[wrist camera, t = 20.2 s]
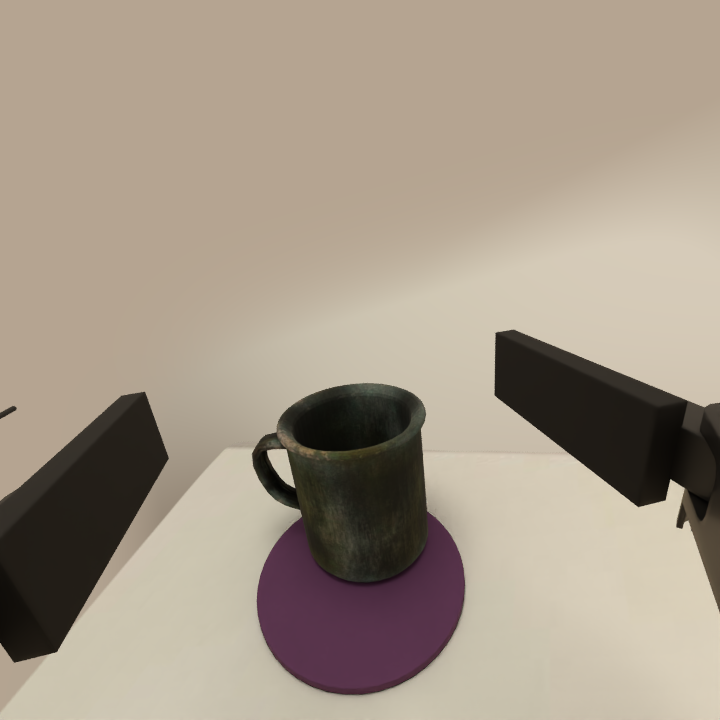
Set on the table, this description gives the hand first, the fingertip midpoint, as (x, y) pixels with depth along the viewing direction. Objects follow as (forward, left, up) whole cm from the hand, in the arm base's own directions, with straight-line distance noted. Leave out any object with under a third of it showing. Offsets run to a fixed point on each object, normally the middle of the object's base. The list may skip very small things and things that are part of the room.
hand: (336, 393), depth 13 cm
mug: (-12, +2, -19) cm, 23 cm away
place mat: (-8, +2, -20) cm, 21 cm away
